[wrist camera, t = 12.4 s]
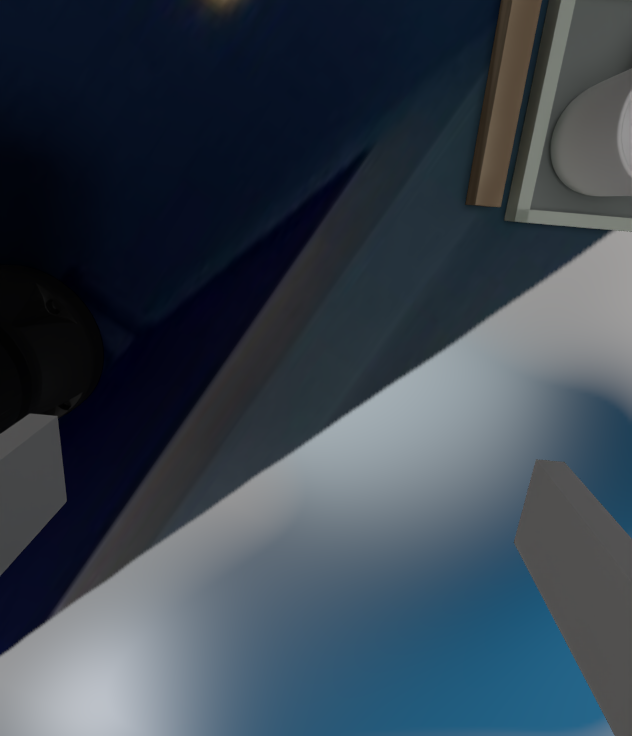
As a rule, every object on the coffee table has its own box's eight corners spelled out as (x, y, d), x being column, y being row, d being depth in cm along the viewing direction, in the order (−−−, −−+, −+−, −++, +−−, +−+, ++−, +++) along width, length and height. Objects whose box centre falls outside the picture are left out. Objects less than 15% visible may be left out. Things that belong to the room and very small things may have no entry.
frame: (504, 220, 41) (514, 221, 38) (553, -21, 35) (569, -37, 33) (656, 233, 41) (676, 235, 38) (730, -7, 35) (759, -22, 33)
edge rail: (465, 204, 40) (475, 204, 38) (502, -9, 35) (517, -27, 33) (488, 206, 40) (500, 206, 38) (529, -7, 35) (546, -25, 33)
